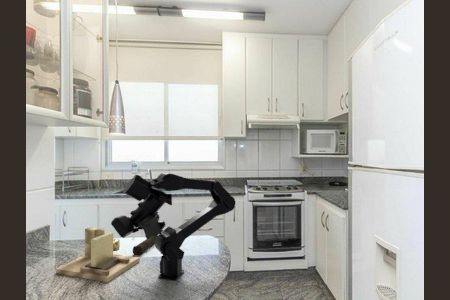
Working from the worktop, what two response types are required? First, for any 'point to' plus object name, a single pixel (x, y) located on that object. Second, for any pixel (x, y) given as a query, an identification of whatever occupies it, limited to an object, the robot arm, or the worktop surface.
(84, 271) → the board
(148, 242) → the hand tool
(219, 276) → the worktop surface
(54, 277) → the worktop surface
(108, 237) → the tan upright block
